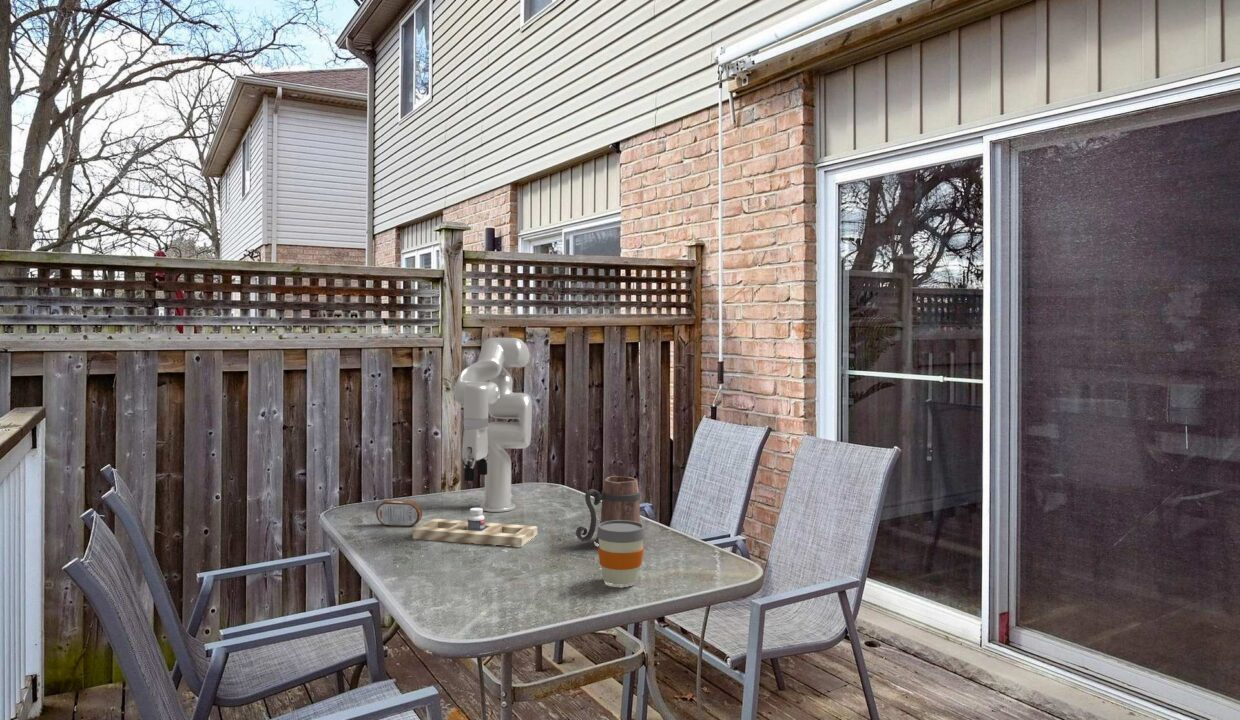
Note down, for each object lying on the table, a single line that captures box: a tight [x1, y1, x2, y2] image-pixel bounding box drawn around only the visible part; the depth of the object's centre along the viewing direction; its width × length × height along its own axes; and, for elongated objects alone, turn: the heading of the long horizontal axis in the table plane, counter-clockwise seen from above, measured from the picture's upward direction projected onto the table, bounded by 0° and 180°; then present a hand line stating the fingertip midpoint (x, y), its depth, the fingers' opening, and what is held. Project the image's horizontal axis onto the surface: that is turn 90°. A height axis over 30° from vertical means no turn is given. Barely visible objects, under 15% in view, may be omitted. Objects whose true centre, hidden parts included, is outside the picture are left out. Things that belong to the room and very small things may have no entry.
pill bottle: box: [467, 507, 486, 531], centre depth 248 cm, size 5×5×9 cm
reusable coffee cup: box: [596, 520, 646, 584], centre depth 206 cm, size 12×13×15 cm
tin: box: [375, 499, 423, 527], centre depth 260 cm, size 15×3×8 cm, turn 84°
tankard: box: [575, 475, 645, 544], centre depth 241 cm, size 24×17×20 cm
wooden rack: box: [412, 517, 538, 547], centre depth 247 cm, size 36×14×3 cm, turn 77°
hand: (476, 477), depth 247 cm, fingers open, 9 cm apart
